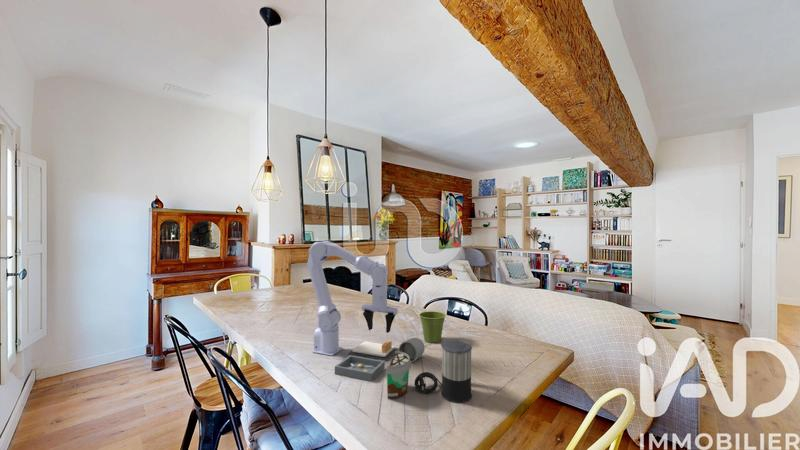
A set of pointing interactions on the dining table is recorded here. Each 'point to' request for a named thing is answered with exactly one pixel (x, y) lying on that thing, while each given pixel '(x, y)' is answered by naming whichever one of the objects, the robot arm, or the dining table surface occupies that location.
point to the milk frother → (452, 372)
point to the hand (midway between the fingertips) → (379, 330)
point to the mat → (375, 356)
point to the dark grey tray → (360, 368)
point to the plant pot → (432, 325)
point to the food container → (398, 375)
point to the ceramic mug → (412, 348)
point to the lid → (375, 348)
